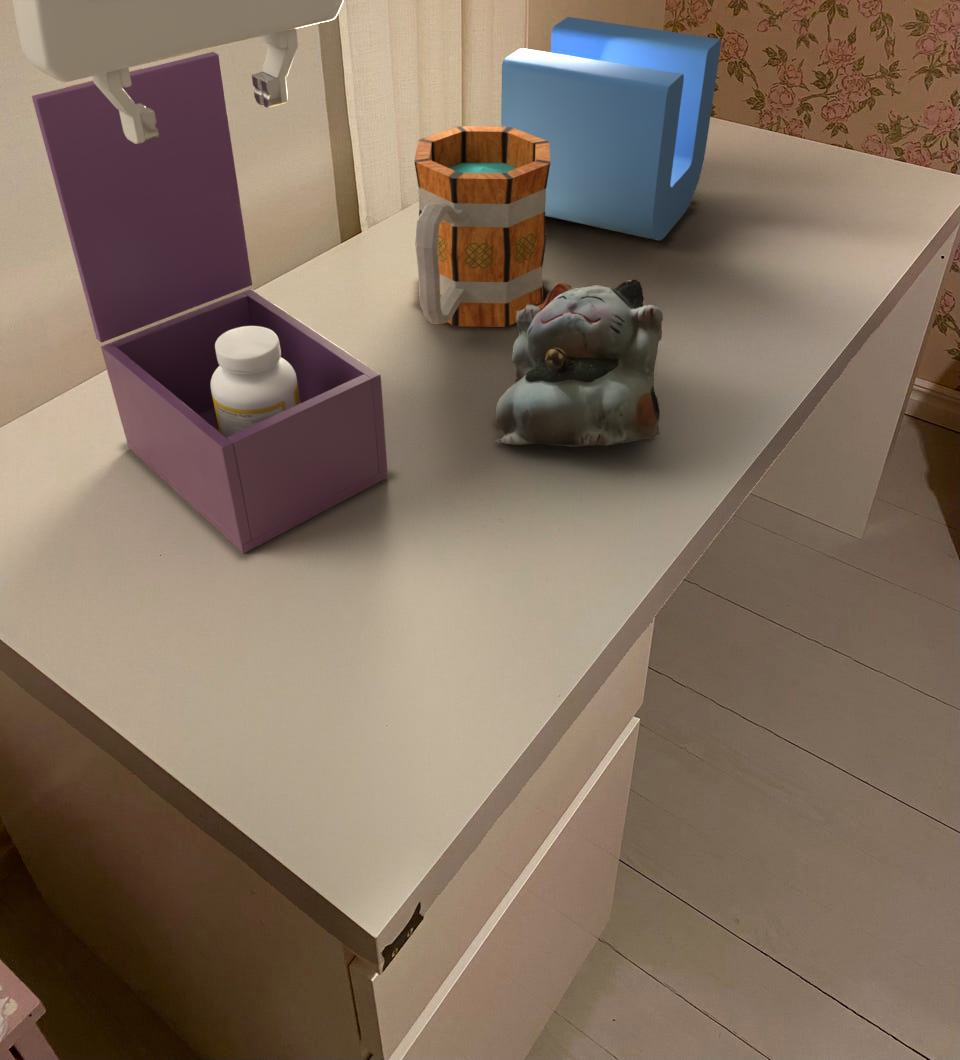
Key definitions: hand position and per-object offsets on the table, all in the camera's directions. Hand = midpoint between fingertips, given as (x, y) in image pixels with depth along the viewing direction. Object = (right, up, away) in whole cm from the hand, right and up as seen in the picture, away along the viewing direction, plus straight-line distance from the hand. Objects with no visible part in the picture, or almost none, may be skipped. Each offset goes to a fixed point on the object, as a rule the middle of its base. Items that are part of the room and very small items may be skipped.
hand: (209, 120), depth 66 cm
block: (+32, +11, +57) cm, 66 cm away
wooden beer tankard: (+16, -4, +39) cm, 43 cm away
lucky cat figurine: (+25, -17, +24) cm, 39 cm away
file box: (-1, -20, +20) cm, 29 cm away
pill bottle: (0, -21, +18) cm, 28 cm away
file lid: (-7, -2, +12) cm, 14 cm away
